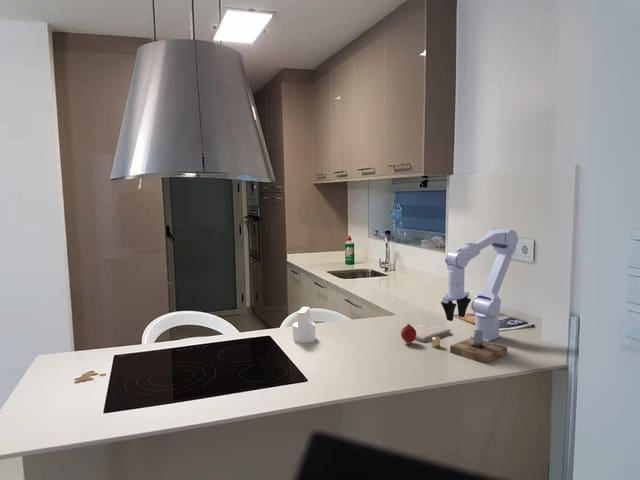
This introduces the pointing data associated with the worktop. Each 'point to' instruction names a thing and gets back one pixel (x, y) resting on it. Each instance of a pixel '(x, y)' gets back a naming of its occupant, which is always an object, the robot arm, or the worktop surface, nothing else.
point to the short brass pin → (436, 342)
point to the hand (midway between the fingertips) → (455, 318)
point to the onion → (408, 334)
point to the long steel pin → (478, 339)
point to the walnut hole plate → (478, 350)
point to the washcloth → (429, 332)
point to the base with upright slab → (304, 327)
